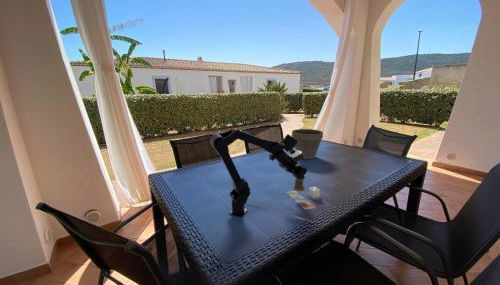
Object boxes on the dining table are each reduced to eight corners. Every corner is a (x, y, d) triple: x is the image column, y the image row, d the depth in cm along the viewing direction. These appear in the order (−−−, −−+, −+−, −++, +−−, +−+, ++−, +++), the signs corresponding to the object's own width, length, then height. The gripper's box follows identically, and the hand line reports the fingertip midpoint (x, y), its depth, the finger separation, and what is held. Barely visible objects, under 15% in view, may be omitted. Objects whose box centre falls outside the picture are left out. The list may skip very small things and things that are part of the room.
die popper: (323, 199, 115) (324, 190, 114) (311, 202, 113) (312, 192, 111) (315, 193, 121) (316, 184, 120) (304, 195, 119) (305, 186, 118)
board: (318, 208, 107) (319, 207, 106) (302, 212, 104) (302, 210, 104) (297, 190, 125) (297, 189, 125) (283, 193, 122) (283, 192, 122)
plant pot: (298, 150, 202) (299, 127, 196) (325, 155, 188) (327, 130, 182) (285, 157, 182) (286, 132, 177) (315, 163, 168) (317, 135, 163)
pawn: (303, 192, 111) (304, 168, 108) (292, 189, 113) (293, 166, 110) (305, 187, 116) (306, 164, 112) (294, 185, 118) (295, 163, 115)
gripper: (305, 151, 99) (323, 171, 105) (284, 141, 116) (301, 159, 122) (288, 170, 98) (308, 189, 104) (270, 157, 115) (288, 174, 121)
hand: (301, 176), depth 113 cm, fingers closed on pawn, 4 cm apart
